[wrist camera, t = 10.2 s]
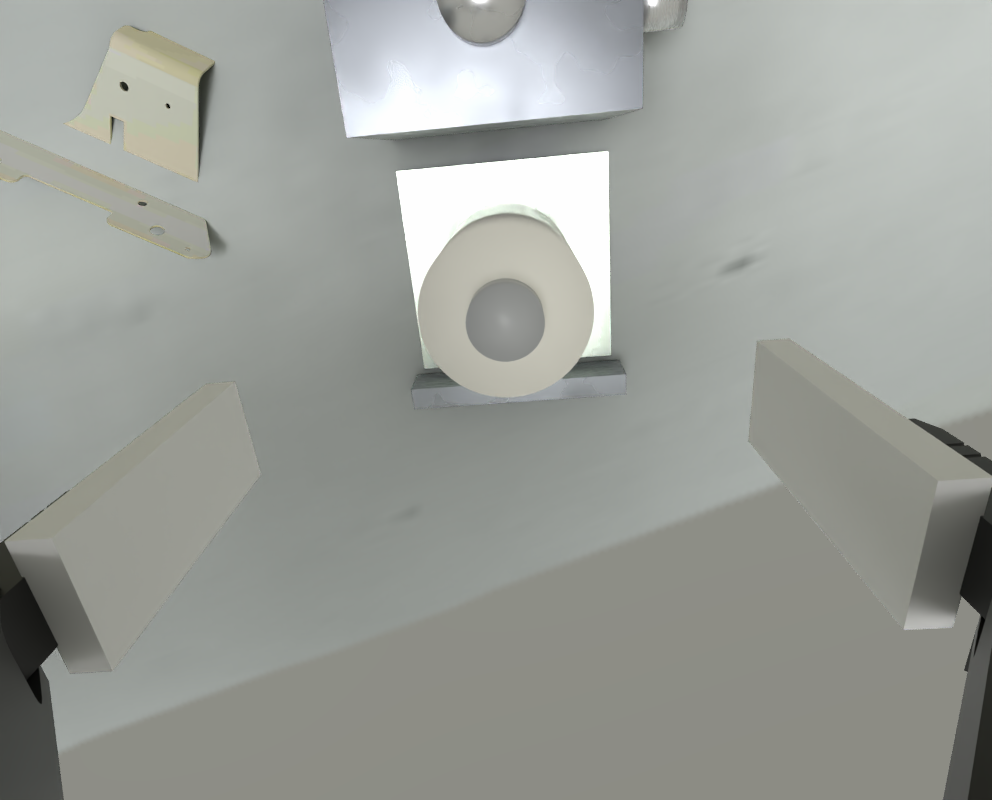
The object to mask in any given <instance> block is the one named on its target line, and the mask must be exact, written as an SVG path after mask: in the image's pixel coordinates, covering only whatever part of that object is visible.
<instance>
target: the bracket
mask: <svg viewBox="0 0 992 800" xmlns="http://www.w3.org/2000/svg"><path fill="white" fill-rule="evenodd" d="M214 63H215V61H213V60H211V59H209V58H207V57H205V56H202V55H200V54H198V53H196V52H194V51H192V50H190V49H188V48H186V47H183V46H181V45H179V44H177V43H175V42H173V41H171V40H169V39H167V38H164V37H162V36H160V35H158V34H156V33H154V32H152V31H148V32H143V31H139V30H137V29H135V28H133V27H130V26H123V27H122V28H120V29H118V30H117V31H115V32H114V33H113V35H112V37H111V40H110V47H109V49H108V52H107V54H106V56H105V59H104V61H103V64H102V66H101V69H100V71H99V73H98V76H97V78H96V81H95V83H94V86H93V88H92V90H91V93H90V95H89V98H88V100H87V102H86V105H85V107H84V109H83V111H82V112H81V113H80V114H79V115H78V116H77V117H76V118H75V119H73V120H72V121H70V122H67V123H63V124H65V125H68V126H70V127H72V128H74V129H77V130H79V131H81V132H84V133H86V134H88V135H90V136H93V137H95V138H97V139H100V140H102V141H104V142H107V143H109V144H111V138H112V117H114V118H116V119H118V120H121V121H123V122H124V150H125V151H127V152H129V153H132V154H134V155H136V156H139V157H141V158H143V159H145V160H148V161H150V162H152V163H155V164H157V165H159V166H161V167H164V168H166V169H168V170H171V171H173V172H175V173H177V174H180V175H182V176H184V177H187V178H189V179H191V180H194V181H196V182H198V176H199V82H200V79H201V77H202V75H203V74H204V73H205V72H206V71H207V70H208V69H209V68H211V67H212V66H213V65H214ZM122 81H123V82H125V83H126V84H127V85H128V88H129V89H128V91H125V90H124V89H123V88H122V86H121V82H122ZM167 103H168V104H169V105H170V108H168V107H167ZM0 160H1V163H0V179H2V180H4V181H6V182H17V181H19V180H20V179H21V178H23V177H30V178H32V179H35V180H37V181H39V182H42V183H44V184H46V185H49V186H51V187H53V188H56V189H58V190H60V191H63V192H65V193H68V194H70V195H72V196H75V197H77V198H79V199H82V200H84V201H86V202H89V203H91V204H93V205H96V206H98V207H100V208H103V209H105V210H107V211H110V212H112V214H111V215H110V216H109V217H108V218H107V223H108V224H109V225H111V226H113V227H115V228H118V229H120V230H122V231H125V232H127V233H129V234H132V235H134V236H137V237H139V238H141V239H144V240H146V241H148V242H151V243H153V244H155V245H158V246H160V247H163V248H165V249H167V250H170V251H172V252H174V253H177V254H179V255H181V256H184V257H186V258H190V259H203V258H206V257H208V256H209V255H210V254H211V247H210V242H209V236H208V231H207V225H206V221H205V219H203V218H201V217H199V216H196V215H194V214H192V213H190V212H187V211H185V210H183V209H180V208H178V207H176V206H173V205H171V204H169V203H167V202H164V201H162V200H160V199H157V198H155V197H153V196H150V195H148V194H146V193H144V192H141V191H139V190H137V189H134V188H132V187H130V186H127V185H125V184H123V183H121V182H118V181H116V180H114V179H111V178H109V177H107V176H104V175H102V174H100V173H98V172H95V171H93V170H91V169H88V168H86V167H84V166H81V165H79V164H77V163H75V162H72V161H70V160H68V159H65V158H63V157H61V156H58V155H56V154H54V153H52V152H49V151H47V150H45V149H42V148H40V147H38V146H35V145H33V144H31V143H29V142H26V141H24V140H22V139H19V138H17V137H15V136H12V135H10V134H8V133H6V132H3V131H1V130H0ZM139 202H146V203H147V205H146V206H140V205H139V204H138V203H139ZM154 227H160V228H162V229H164V230H165V232H164V233H163V234H162V235H154V234H152V233H151V232H150V230H151V229H152V228H154ZM186 249H190V250H189V251H187V250H186Z"/></svg>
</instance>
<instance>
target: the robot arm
mask: <svg viewBox="0 0 992 800" xmlns="http://www.w3.org/2000/svg"><path fill="white" fill-rule="evenodd" d="M748 441H749V443H750V444H751V445H752V446H753V447H754V449H755V450H756V451H757V452H758V454H759V455H760V456H761V457H762V458H763V460H764V461H765V462H766V463H767V464H768V466H769V467H770V468H771V469H772V471H773V472H774V473H775V474H776V475H777V477H778V478H779V479H780V480H781V482H782V483H783V484H784V485H785V486H786V488H787V489H788V490H789V491H790V492H791V494H792V495H793V496H794V497H795V499H796V500H797V501H798V502H799V504H800V505H801V506H802V507H803V508H804V510H805V511H806V512H807V513H808V514H809V516H810V517H811V518H812V519H813V520H814V522H815V523H816V524H817V525H818V527H819V528H820V529H821V530H822V531H823V533H824V534H825V535H826V536H827V538H828V539H829V540H830V541H831V543H832V544H833V545H834V546H835V547H836V549H837V550H838V551H839V552H840V553H841V555H842V556H843V557H844V558H845V560H846V561H847V562H848V563H849V564H850V566H851V567H852V568H853V569H854V571H855V572H856V573H857V574H858V575H859V577H860V578H861V579H862V580H863V581H864V583H865V584H866V585H867V586H868V588H869V589H870V590H871V591H872V592H873V593H874V595H875V596H876V597H877V599H878V600H879V601H880V602H881V604H882V605H883V606H884V607H885V608H886V609H887V611H888V612H889V613H890V614H891V616H892V617H893V618H894V619H895V620H896V622H897V623H898V624H899V625H900V627H901V628H902V629H903V630H914V629H934V628H951V627H953V625H954V621H955V618H956V614H957V611H958V607H959V604H960V600H961V596H962V597H963V598H964V599H965V600H966V601H967V602H968V603H969V604H970V605H971V606H972V607H973V608H974V609H975V610H976V611H977V612H978V613H979V614H980V618H979V622H978V625H977V629H976V632H975V635H974V639H973V642H972V646H971V649H970V652H969V656H968V659H967V662H966V666H965V669H964V670H965V671H967V672H968V673H967V678H966V683H965V689H964V694H963V699H962V704H961V709H960V714H959V720H958V725H957V730H956V735H955V740H954V746H953V751H952V756H951V761H950V766H949V772H948V777H947V782H946V788H945V792H944V798H943V800H992V461H991V460H990V459H988V458H986V457H981V454H980V453H979V452H977V451H976V450H974V449H973V448H971V447H970V446H968V445H967V446H964V443H963V442H962V441H960V440H959V439H957V438H956V437H954V436H953V435H951V434H949V433H948V432H946V431H945V430H943V429H941V428H938V427H935V426H933V425H930V424H927V423H925V422H922V421H919V420H917V419H907V418H906V417H904V416H903V415H901V414H900V413H898V412H897V411H895V410H894V409H892V408H891V407H890V406H888V405H887V404H885V403H884V402H882V401H881V400H879V399H878V398H876V397H875V396H873V395H872V394H870V393H869V392H867V391H866V390H864V389H863V388H861V387H860V386H859V385H857V384H856V383H854V382H853V381H851V380H850V379H848V378H847V377H845V376H844V375H842V374H841V373H839V372H838V371H836V370H835V369H833V368H832V367H830V366H829V365H828V364H826V363H825V362H823V361H822V360H820V359H819V358H817V357H816V356H814V355H813V354H811V353H810V352H808V351H807V350H805V349H804V348H802V347H801V346H799V345H798V344H797V343H795V342H794V341H792V340H791V339H789V338H787V339H774V340H762V341H757V347H756V358H755V370H754V382H753V393H752V405H751V416H750V428H749V439H748ZM260 476H261V472H260V469H259V465H258V461H257V458H256V454H255V451H254V447H253V444H252V440H251V436H250V433H249V429H248V426H247V422H246V418H245V415H244V411H243V408H242V404H241V400H240V397H239V393H238V390H237V386H236V383H235V381H234V382H221V383H208V384H205V385H204V386H202V387H201V388H200V389H199V390H197V391H196V392H195V393H194V394H192V395H191V396H190V397H188V398H187V399H186V400H185V401H183V402H182V403H181V404H179V405H178V406H177V407H176V408H174V409H173V410H172V411H170V412H169V413H168V414H167V415H165V416H164V417H163V418H162V419H160V420H159V421H158V422H156V423H155V424H154V425H153V426H151V427H150V428H149V429H147V430H146V431H145V432H144V433H142V434H141V435H140V436H138V437H137V438H136V439H135V440H133V441H132V442H131V443H130V444H128V445H127V446H126V447H124V448H123V449H122V450H121V451H119V452H118V453H117V454H115V455H114V456H113V457H112V458H110V459H109V460H108V461H106V462H105V463H104V464H103V465H101V466H100V467H99V468H98V469H96V470H95V471H94V472H92V473H91V474H90V475H89V476H87V477H86V478H85V479H83V480H82V481H81V482H80V483H78V484H77V485H76V486H74V487H73V488H72V489H71V490H69V491H67V492H65V493H64V494H63V495H61V496H60V497H59V498H58V499H56V500H55V501H54V502H52V503H51V504H50V505H49V506H47V508H46V509H45V510H42V511H41V512H40V513H38V514H37V515H36V516H34V517H33V518H32V519H31V521H30V522H27V523H26V524H24V525H23V526H22V527H20V528H19V529H18V530H17V531H15V532H14V533H13V534H11V535H10V536H9V537H8V538H6V539H5V540H4V541H2V542H1V543H0V800H64V799H63V791H62V782H61V774H60V767H59V758H58V750H57V742H56V734H55V727H54V719H53V711H52V703H51V695H50V687H49V681H48V679H47V677H46V675H45V673H44V671H43V670H42V668H41V666H40V665H41V664H42V663H43V662H44V661H45V660H46V658H47V657H48V656H49V655H50V654H51V653H52V652H53V651H54V650H55V648H56V647H57V649H58V651H59V653H60V655H61V657H62V659H63V661H64V663H65V665H66V667H67V669H68V671H69V673H70V674H75V673H94V672H113V671H114V669H115V668H116V667H117V665H118V664H119V663H120V661H121V660H122V659H123V657H124V656H125V655H126V653H127V652H128V651H129V649H130V648H131V647H132V645H133V644H134V643H135V641H136V640H137V639H138V637H139V636H140V635H141V633H142V632H143V631H144V630H145V628H146V627H147V626H148V624H149V623H150V622H151V620H152V619H153V618H154V616H155V615H156V614H157V612H158V611H159V610H160V608H161V607H162V606H163V604H164V603H165V602H166V600H167V599H168V598H169V596H170V595H171V594H172V592H173V591H174V590H175V588H176V587H177V586H178V584H179V583H180V582H181V580H182V579H183V578H184V577H185V575H186V574H187V573H188V571H189V570H190V569H191V567H192V566H193V565H194V563H195V562H196V561H197V559H198V558H199V557H200V555H201V554H202V553H203V551H204V550H205V549H206V547H207V546H208V545H209V543H210V542H211V541H212V539H213V538H214V537H215V535H216V534H217V533H218V531H219V530H220V529H221V527H222V526H223V525H224V523H225V522H226V521H227V520H228V518H229V517H230V516H231V514H232V513H233V512H234V510H235V509H236V508H237V506H238V505H239V504H240V502H241V501H242V500H243V498H244V497H245V496H246V494H247V493H248V492H249V490H250V489H251V488H252V486H253V485H254V484H255V482H256V481H257V480H258V478H259V477H260Z"/></svg>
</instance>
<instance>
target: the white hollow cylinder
mask: <svg viewBox="0 0 992 800" xmlns="http://www.w3.org/2000/svg"><path fill="white" fill-rule="evenodd" d="M593 322H594V301H593V295H592V290H591V286H590V284H589V281H588V278H587V276H586V274H585V272H584V270H583V268H582V266H581V265H580V263H579V261H578V260H577V258H576V256H575V254H574V253H573V251H572V249H571V248H570V246H569V244H568V242H567V241H566V239H565V237H564V236H563V234H562V232H561V231H560V229H559V228H558V227H557V225H556V224H555V223H554V222H553V221H552V220H551V219H550V218H548V217H547V216H546V215H545V214H543V213H541V212H540V211H538V210H536V209H534V208H531V207H529V206H525V205H522V204H515V203H501V204H495V205H491V206H488V207H485V208H483V209H481V210H479V211H477V212H475V213H474V214H472V215H471V216H470V217H468V218H467V219H466V220H465V221H464V222H463V223H462V224H461V225H460V226H459V227H458V229H457V230H456V232H455V233H454V234H453V236H452V237H451V238H450V240H449V241H448V242H447V244H446V245H445V247H444V248H443V249H442V251H441V252H440V253H439V255H438V256H437V258H436V259H435V260H434V262H433V263H432V265H431V266H430V268H429V270H428V272H427V274H426V276H425V278H424V280H423V283H422V286H421V289H420V294H419V299H418V323H419V328H420V333H421V336H422V339H423V342H424V344H425V346H426V348H427V350H428V352H429V354H430V356H431V357H432V359H433V360H434V362H435V363H436V364H437V365H438V367H439V368H440V369H441V370H442V371H443V372H444V373H445V374H446V375H447V376H449V377H450V378H451V379H452V380H454V381H455V382H457V383H458V384H459V385H461V386H463V387H465V388H467V389H469V390H471V391H474V392H477V393H480V394H483V395H488V396H493V397H518V396H525V395H529V394H532V393H535V392H538V391H541V390H543V389H545V388H547V387H549V386H551V385H553V384H554V383H556V382H557V381H558V380H560V379H561V378H563V377H564V376H565V375H566V374H567V373H568V372H569V371H570V370H571V369H572V368H573V367H574V365H575V364H576V363H577V362H578V360H579V359H580V357H581V356H582V354H583V353H584V350H585V348H586V346H587V344H588V342H589V339H590V336H591V333H592V328H593Z"/></svg>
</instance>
